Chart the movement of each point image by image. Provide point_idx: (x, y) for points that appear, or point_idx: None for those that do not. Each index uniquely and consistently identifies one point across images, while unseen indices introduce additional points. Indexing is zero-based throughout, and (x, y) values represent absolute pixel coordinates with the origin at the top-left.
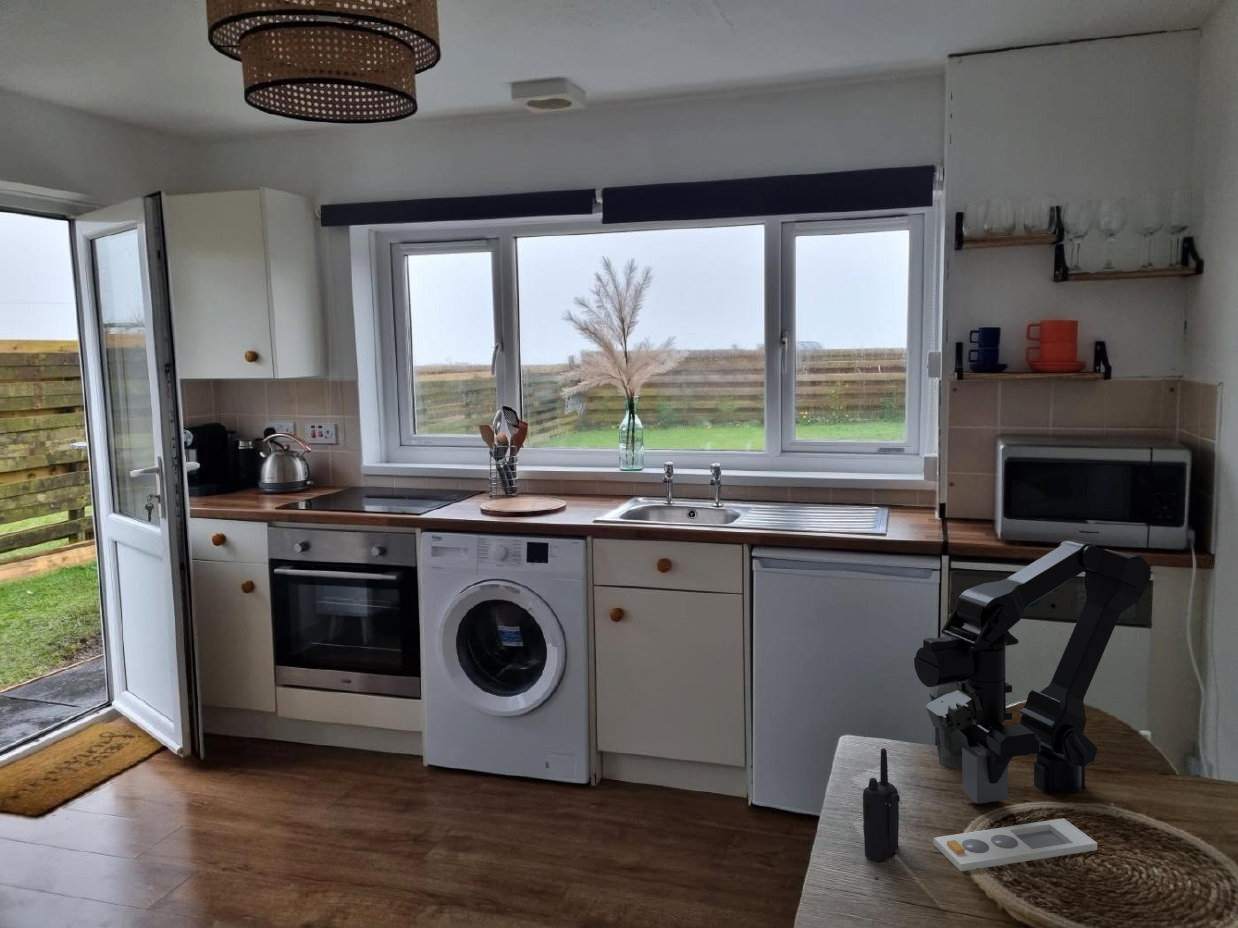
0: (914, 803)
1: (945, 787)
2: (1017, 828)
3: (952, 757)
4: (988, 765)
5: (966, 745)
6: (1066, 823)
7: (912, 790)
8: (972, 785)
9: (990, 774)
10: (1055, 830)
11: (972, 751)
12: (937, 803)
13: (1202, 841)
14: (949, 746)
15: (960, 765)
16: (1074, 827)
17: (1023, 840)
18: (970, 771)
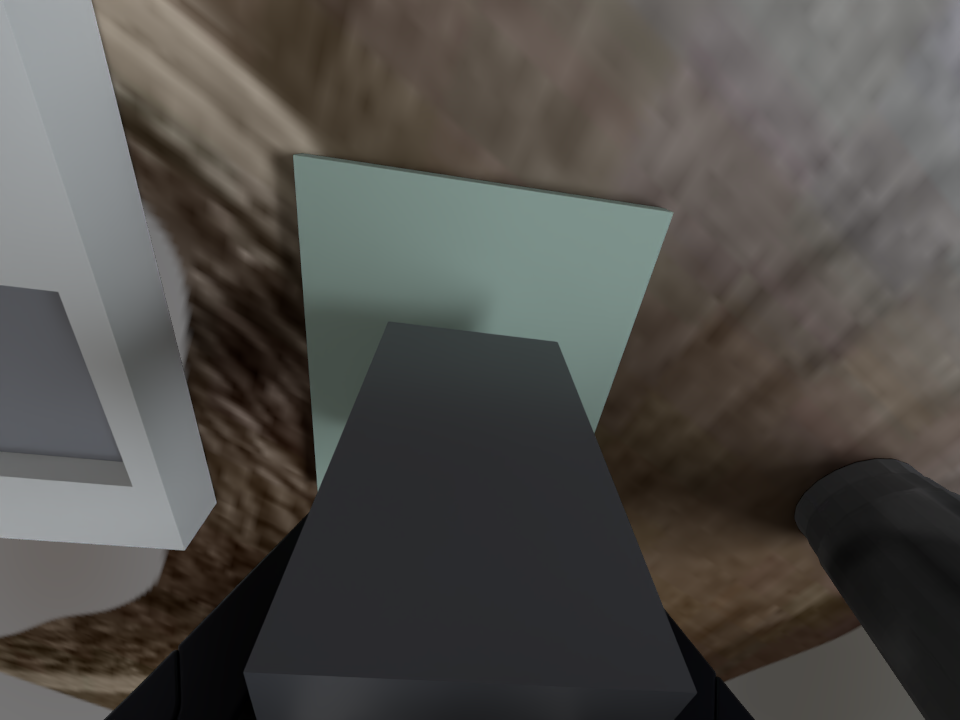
0: (728, 46)
1: (732, 349)
2: (84, 344)
3: (864, 513)
4: (244, 631)
5: (722, 713)
6: (139, 535)
7: (847, 161)
8: (432, 379)
9: (281, 543)
10: (90, 475)
11: (498, 713)
12: (637, 199)
13: (131, 691)
14: (931, 557)
15: (808, 505)
16: (99, 539)
17: (43, 315)
18: (459, 455)
